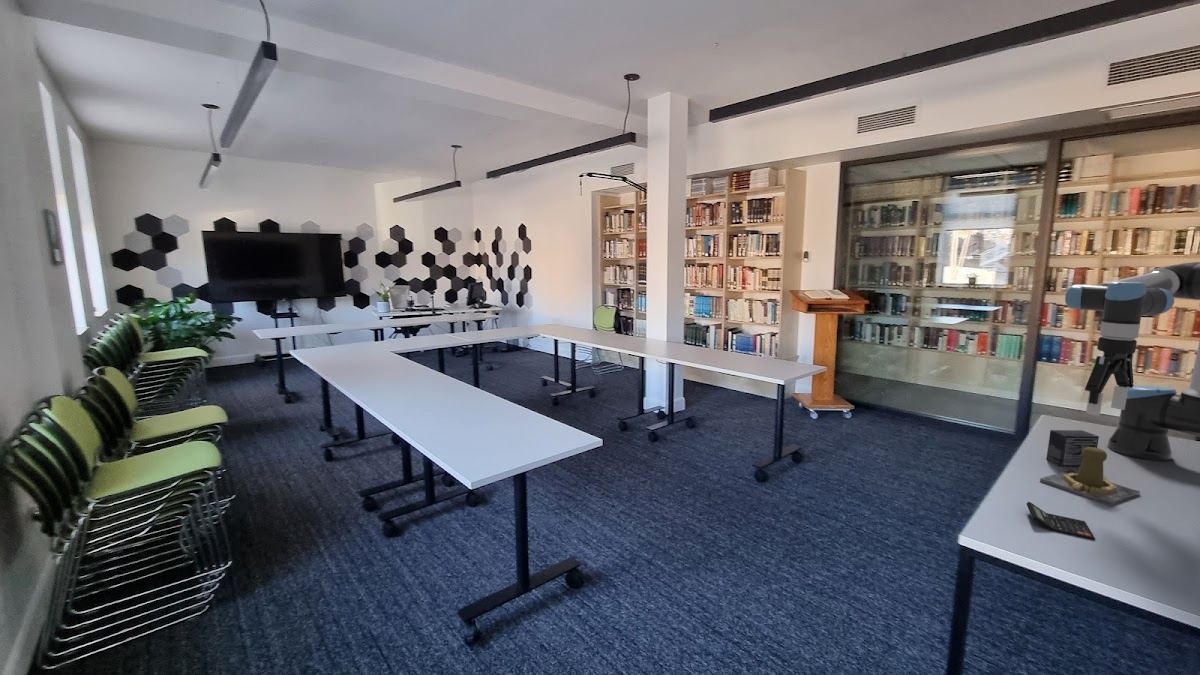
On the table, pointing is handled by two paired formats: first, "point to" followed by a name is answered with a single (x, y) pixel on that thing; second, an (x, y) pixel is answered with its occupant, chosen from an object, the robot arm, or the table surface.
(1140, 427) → the robot arm
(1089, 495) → the socket
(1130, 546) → the table surface
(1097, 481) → the cork
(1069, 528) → the calculator
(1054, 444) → the small box
